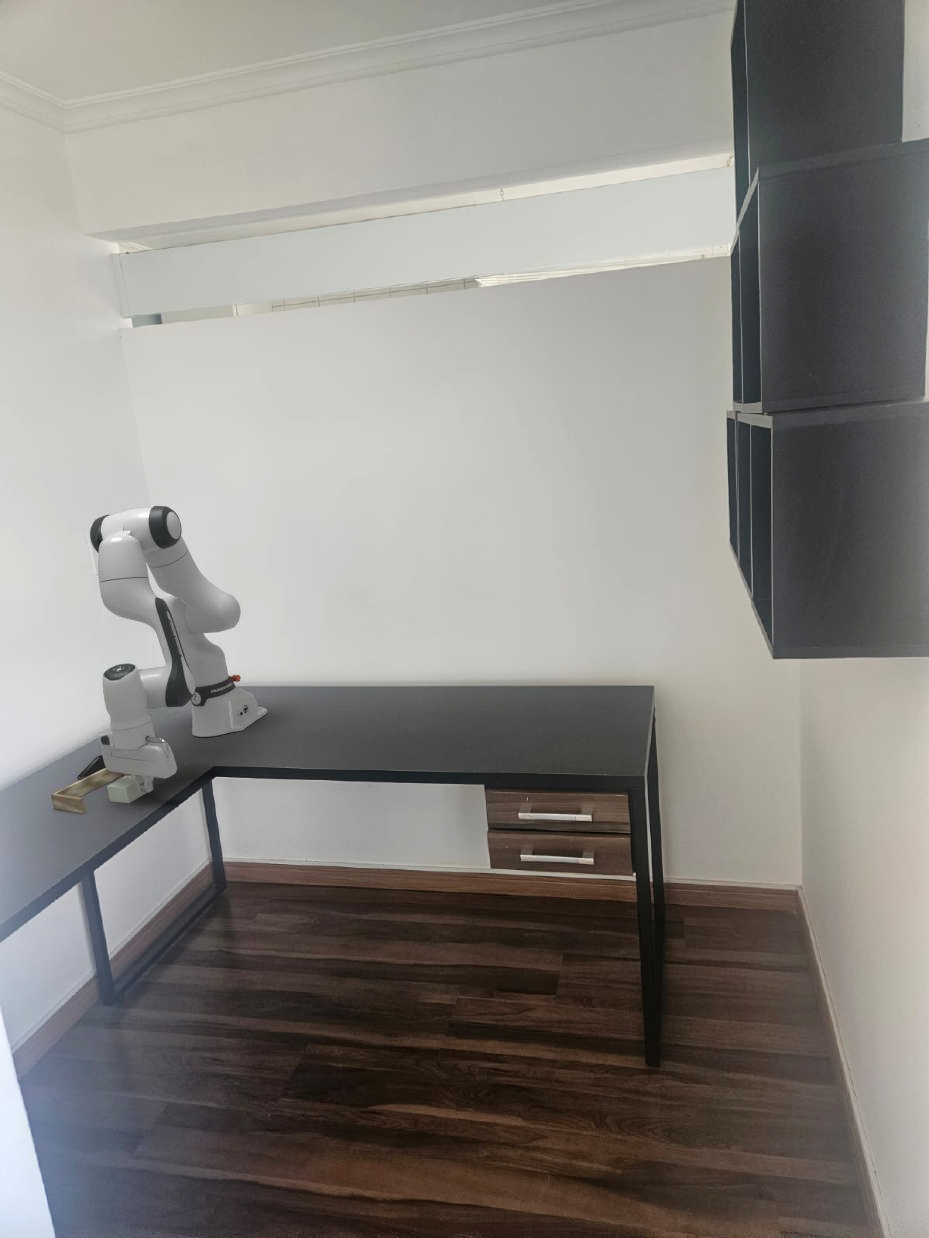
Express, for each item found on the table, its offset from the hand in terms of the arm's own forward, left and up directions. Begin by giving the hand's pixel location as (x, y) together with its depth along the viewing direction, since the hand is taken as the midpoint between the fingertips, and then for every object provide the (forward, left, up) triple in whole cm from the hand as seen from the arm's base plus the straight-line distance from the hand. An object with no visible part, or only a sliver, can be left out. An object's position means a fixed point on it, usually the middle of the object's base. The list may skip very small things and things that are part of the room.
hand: (146, 790), depth 200 cm
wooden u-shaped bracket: (0, -15, -2) cm, 15 cm away
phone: (-12, -30, -3) cm, 33 cm away
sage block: (0, -6, -2) cm, 7 cm away
